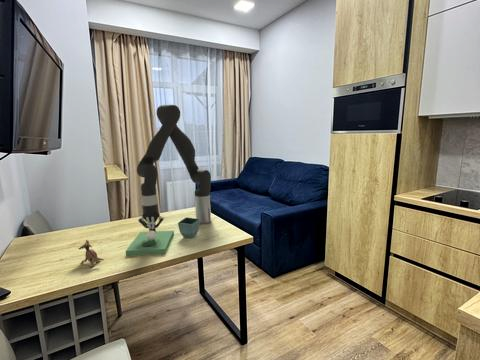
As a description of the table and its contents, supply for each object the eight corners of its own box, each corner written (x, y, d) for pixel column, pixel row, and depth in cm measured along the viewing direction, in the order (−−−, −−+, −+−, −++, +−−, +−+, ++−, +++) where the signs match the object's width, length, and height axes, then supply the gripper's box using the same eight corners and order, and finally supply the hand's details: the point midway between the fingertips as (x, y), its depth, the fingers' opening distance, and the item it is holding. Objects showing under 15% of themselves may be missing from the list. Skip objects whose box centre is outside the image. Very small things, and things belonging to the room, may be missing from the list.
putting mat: (174, 234, 140) (173, 230, 139) (165, 253, 118) (165, 248, 118) (140, 236, 138) (140, 231, 138) (126, 255, 117) (125, 250, 116)
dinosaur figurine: (76, 261, 112) (73, 242, 110) (90, 256, 117) (87, 237, 115) (92, 270, 105) (89, 250, 103) (106, 264, 110) (104, 244, 108)
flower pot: (193, 240, 132) (192, 224, 130) (178, 238, 135) (177, 222, 133) (200, 234, 140) (200, 218, 138) (186, 232, 143) (186, 217, 141)
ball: (156, 228, 127) (154, 236, 123) (157, 234, 130) (156, 242, 127) (146, 228, 127) (144, 236, 123) (148, 234, 130) (146, 242, 126)
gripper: (164, 200, 131) (167, 231, 135) (138, 201, 130) (142, 232, 134) (161, 204, 124) (164, 237, 127) (133, 205, 123) (137, 238, 126)
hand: (152, 235), depth 130 cm, fingers closed
